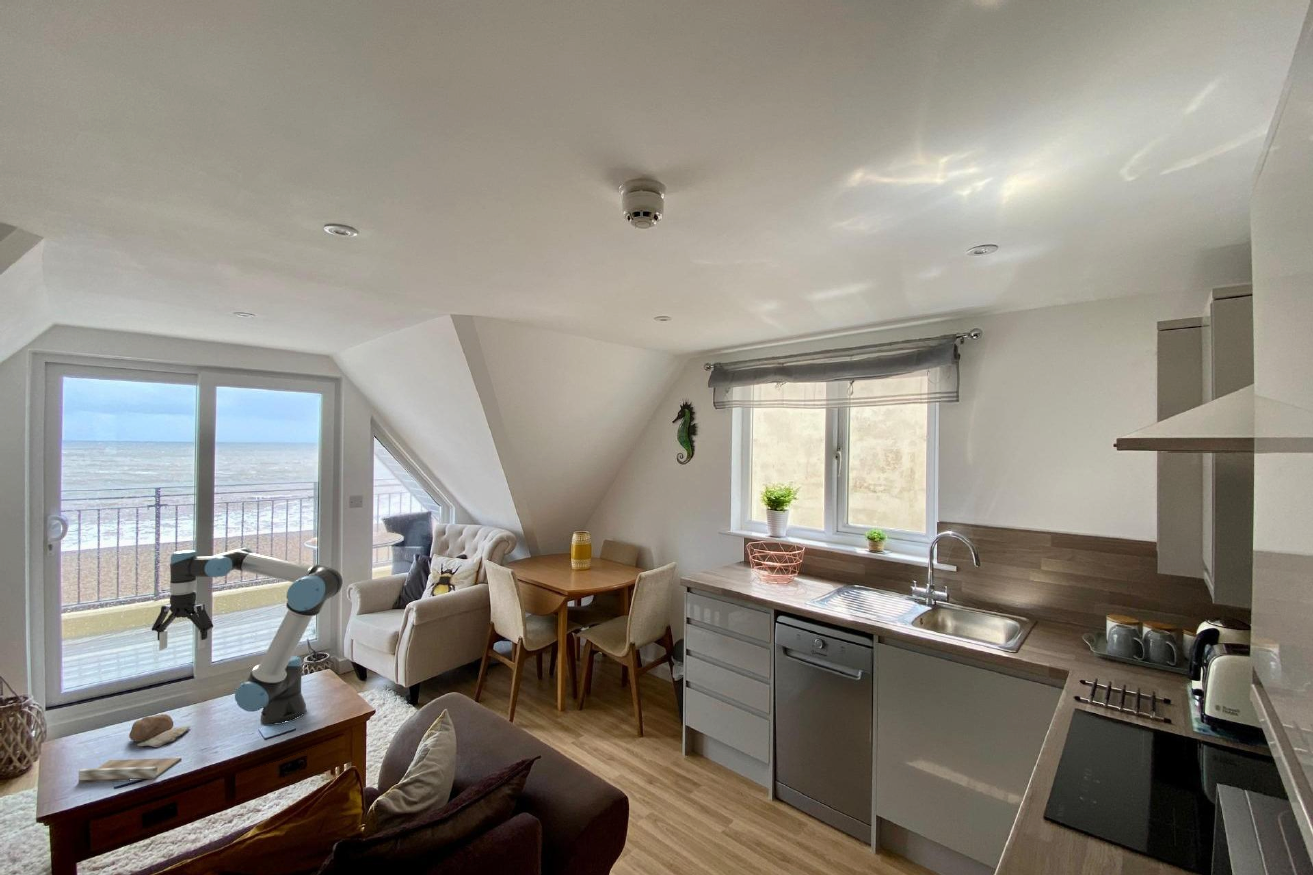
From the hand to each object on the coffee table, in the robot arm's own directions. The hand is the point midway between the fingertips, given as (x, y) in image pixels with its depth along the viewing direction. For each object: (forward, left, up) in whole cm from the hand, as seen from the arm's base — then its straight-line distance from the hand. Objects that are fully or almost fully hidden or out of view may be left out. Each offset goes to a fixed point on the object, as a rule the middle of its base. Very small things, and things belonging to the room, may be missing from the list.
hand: (182, 648), depth 206 cm
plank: (-2, +24, -33) cm, 40 cm away
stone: (+13, +1, -33) cm, 35 cm away
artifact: (+4, +10, -31) cm, 33 cm away
